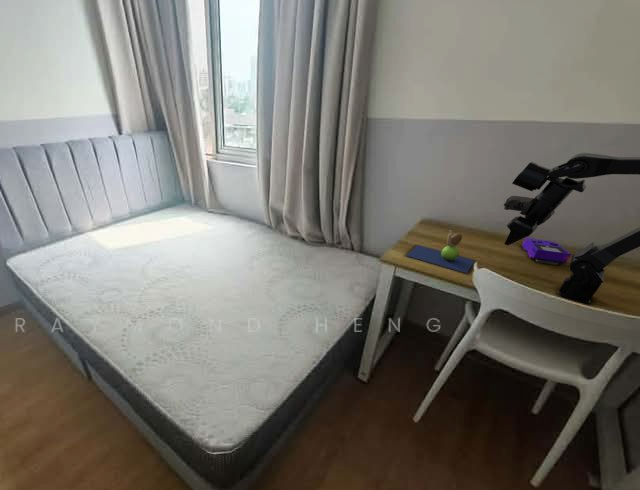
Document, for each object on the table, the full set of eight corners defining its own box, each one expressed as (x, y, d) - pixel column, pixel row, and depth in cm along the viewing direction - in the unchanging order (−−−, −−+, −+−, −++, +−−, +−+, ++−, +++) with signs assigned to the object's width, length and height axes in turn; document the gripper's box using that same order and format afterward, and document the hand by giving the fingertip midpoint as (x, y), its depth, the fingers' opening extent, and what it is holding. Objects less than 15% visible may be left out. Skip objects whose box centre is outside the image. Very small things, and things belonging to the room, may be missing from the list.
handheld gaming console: (555, 240, 118) (572, 252, 106) (549, 253, 120) (564, 266, 108) (525, 236, 121) (537, 248, 109) (519, 249, 124) (531, 261, 112)
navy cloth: (474, 261, 113) (475, 260, 113) (466, 273, 106) (466, 272, 106) (417, 245, 125) (417, 245, 125) (406, 256, 118) (406, 255, 118)
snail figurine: (433, 257, 116) (444, 227, 109) (447, 255, 117) (458, 225, 111) (445, 264, 111) (457, 233, 105) (459, 261, 113) (472, 231, 106)
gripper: (532, 177, 98) (499, 218, 109) (507, 194, 90) (474, 236, 101) (573, 193, 92) (533, 234, 104) (550, 213, 84) (509, 255, 96)
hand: (512, 239), depth 101 cm, fingers open, 9 cm apart
